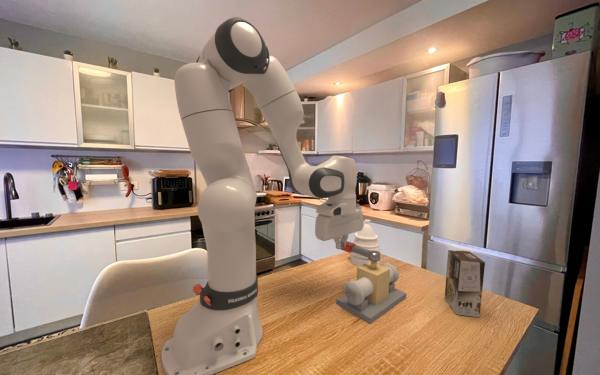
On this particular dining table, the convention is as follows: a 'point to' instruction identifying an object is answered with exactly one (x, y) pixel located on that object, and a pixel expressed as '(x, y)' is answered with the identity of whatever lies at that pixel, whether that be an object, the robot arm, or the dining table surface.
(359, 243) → the honey pot
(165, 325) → the dining table surface
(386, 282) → the valve
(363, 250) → the lever
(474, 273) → the coffee box
